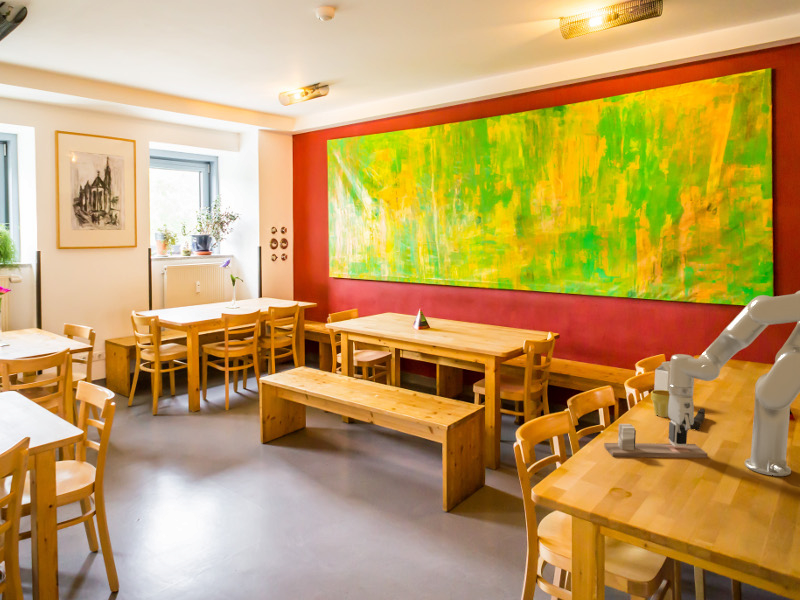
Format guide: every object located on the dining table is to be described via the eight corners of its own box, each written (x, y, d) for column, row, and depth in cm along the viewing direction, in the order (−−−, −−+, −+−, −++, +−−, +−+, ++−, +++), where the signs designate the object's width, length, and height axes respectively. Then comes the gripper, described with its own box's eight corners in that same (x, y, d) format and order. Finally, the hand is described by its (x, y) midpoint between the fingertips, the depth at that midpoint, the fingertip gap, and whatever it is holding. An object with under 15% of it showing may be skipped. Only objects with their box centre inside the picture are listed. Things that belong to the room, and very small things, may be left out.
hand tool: (699, 431, 218) (700, 420, 217) (688, 429, 220) (689, 418, 220) (710, 419, 232) (711, 409, 231) (699, 417, 235) (700, 407, 234)
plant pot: (656, 409, 244) (657, 388, 243) (681, 415, 237) (682, 393, 236) (645, 414, 238) (646, 392, 236) (670, 420, 230) (672, 397, 229)
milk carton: (653, 401, 257) (655, 360, 255) (664, 399, 260) (666, 359, 258) (666, 405, 251) (668, 363, 249) (677, 403, 254) (679, 362, 252)
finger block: (686, 446, 194) (687, 424, 193) (673, 446, 194) (674, 424, 193) (680, 442, 197) (682, 420, 197) (668, 442, 198) (669, 420, 197)
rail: (707, 457, 191) (708, 431, 190) (612, 456, 192) (613, 430, 191) (694, 448, 200) (695, 422, 199) (604, 446, 201) (605, 421, 200)
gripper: (704, 397, 185) (700, 450, 187) (680, 384, 202) (678, 433, 204) (681, 397, 185) (678, 450, 187) (659, 383, 202) (657, 432, 204)
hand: (678, 440), depth 195 cm, fingers closed on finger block, 3 cm apart
